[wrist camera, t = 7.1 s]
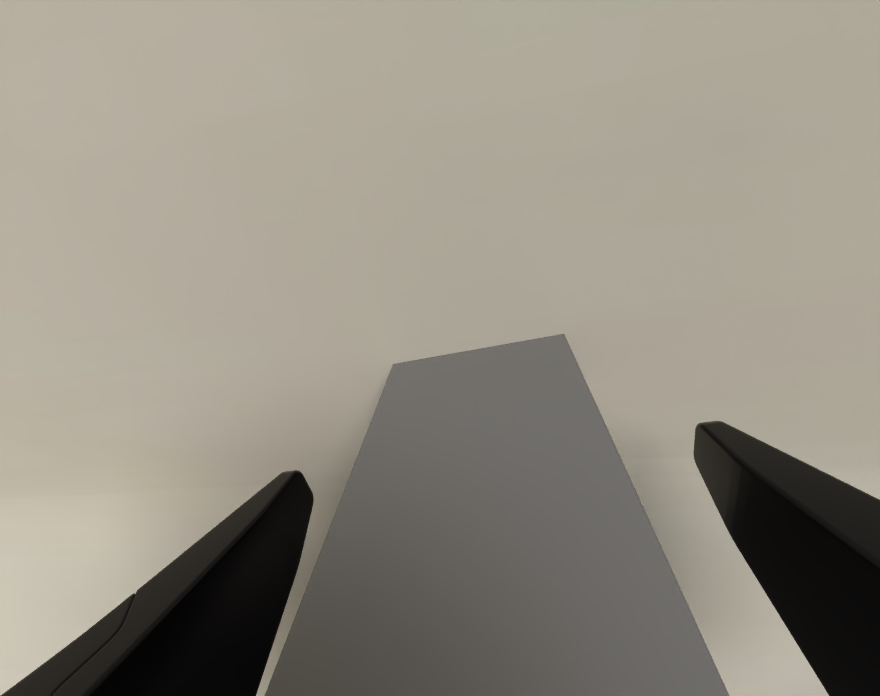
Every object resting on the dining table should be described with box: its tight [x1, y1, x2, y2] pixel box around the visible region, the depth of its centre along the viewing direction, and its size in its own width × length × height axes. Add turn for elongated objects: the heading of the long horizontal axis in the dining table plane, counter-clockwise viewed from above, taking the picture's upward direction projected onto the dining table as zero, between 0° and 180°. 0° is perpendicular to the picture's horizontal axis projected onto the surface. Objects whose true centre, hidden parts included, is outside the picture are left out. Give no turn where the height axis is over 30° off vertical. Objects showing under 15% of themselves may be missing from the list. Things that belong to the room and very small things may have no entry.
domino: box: [265, 334, 729, 696], centre depth 8 cm, size 2×5×9 cm, turn 104°
